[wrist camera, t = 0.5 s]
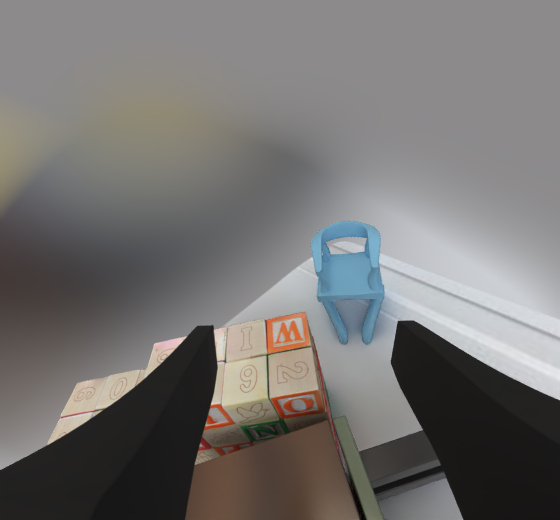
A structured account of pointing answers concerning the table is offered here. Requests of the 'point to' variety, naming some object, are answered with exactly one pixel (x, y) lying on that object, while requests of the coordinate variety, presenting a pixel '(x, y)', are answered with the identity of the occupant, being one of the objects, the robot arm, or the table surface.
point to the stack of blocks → (234, 386)
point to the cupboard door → (387, 467)
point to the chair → (349, 274)
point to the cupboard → (275, 481)
